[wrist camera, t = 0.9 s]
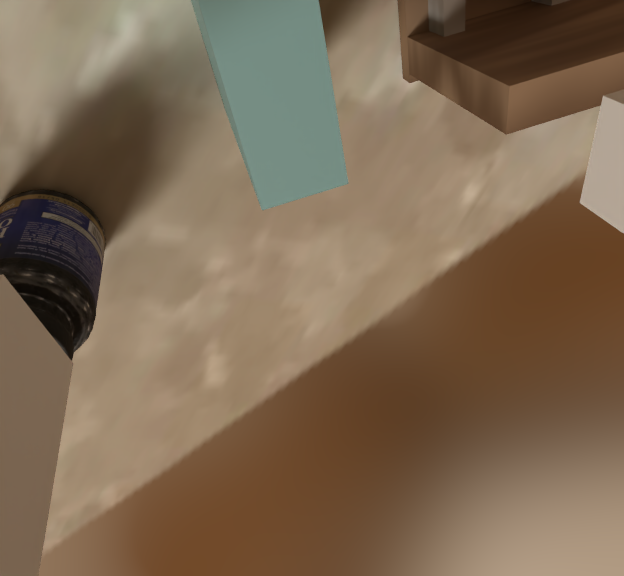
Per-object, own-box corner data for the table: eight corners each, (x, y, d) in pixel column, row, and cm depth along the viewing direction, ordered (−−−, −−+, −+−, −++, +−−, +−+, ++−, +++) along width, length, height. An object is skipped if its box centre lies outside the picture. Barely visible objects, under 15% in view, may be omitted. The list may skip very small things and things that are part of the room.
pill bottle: (4, 170, 26) (-67, 290, 18) (119, 207, 29) (105, 325, 21) (-16, 259, 29) (-85, 400, 21) (91, 285, 32) (69, 417, 24)
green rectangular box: (137, -172, 20) (122, -248, 11) (218, -192, 20) (272, -282, 11) (225, 112, 28) (261, 210, 18) (284, 95, 28) (348, 183, 19)
